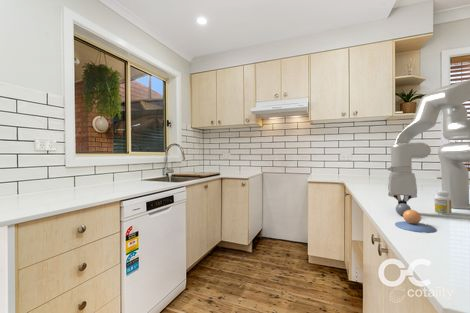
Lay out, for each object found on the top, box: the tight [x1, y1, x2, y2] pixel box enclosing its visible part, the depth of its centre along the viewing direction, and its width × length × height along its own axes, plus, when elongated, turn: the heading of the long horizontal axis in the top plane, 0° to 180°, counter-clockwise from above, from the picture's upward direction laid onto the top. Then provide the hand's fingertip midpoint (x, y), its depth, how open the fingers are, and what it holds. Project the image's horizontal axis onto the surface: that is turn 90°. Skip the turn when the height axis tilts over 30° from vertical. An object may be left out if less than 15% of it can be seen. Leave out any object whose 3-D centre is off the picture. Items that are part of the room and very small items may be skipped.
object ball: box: [402, 209, 422, 224], centre depth 85 cm, size 6×6×6 cm
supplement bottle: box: [434, 190, 452, 215], centre depth 97 cm, size 5×5×10 cm
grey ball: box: [395, 203, 412, 217], centre depth 95 cm, size 6×6×6 cm
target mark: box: [394, 220, 437, 234], centre depth 82 cm, size 12×12×1 cm
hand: (402, 209), depth 100 cm, fingers closed
